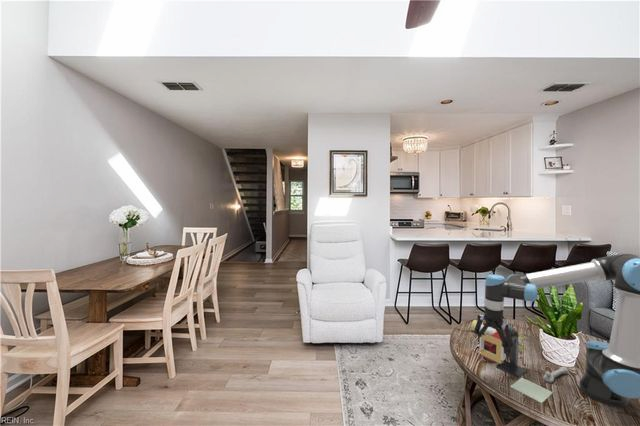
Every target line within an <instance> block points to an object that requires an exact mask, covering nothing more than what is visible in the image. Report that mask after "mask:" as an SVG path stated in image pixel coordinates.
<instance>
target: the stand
mask: <svg viewBox="0 0 640 426" xmlns="http://www.w3.org/2000/svg"><path fill="white" fill-rule="evenodd" d="M518 339H519V338H516V337H514V336H513V337H512V341H513V346H512V347H511V350H510V354H509V361H508V360H506V359H505V360H504V362H503V363H502V364H500V363H498V364H496V365H495V367H496V368H497V369H499V370H501V371H503V372H504V373H506V374H509V375H510V376H513V377H515V378H517V379H520V378H522V376H523V375H525V374H527V372H528V371H527V369H525V368H523V367H521V366H519V365H518V359H519V357H518V355H519V350H518V349H519V348H518V346H519V345H518Z"/></svg>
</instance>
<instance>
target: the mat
mask: <svg viewBox="0 0 640 426" xmlns="http://www.w3.org/2000/svg"><path fill="white" fill-rule="evenodd" d="M509 386H510V388H511V389H512V390H515V391H517V392H519V393H521V394H523V395H524V396H527V397H528V398H531V399H532V400H534V401H536V402H538V403H539V404H543V403H544V402H545V401H546V400H547V399H549V397H550V396H552V395H553V394H554V392H553V391H551V390H549V389H547V388H544V387H542V386H540V385H538V384H536V383H535V382H533V381H530V380H528V379H525V378H524V377H520V378H518V380H517V381H515V382H514V383H512V384H511V385H509Z"/></svg>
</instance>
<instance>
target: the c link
mask: <svg viewBox="0 0 640 426" xmlns="http://www.w3.org/2000/svg"><path fill="white" fill-rule="evenodd" d="M481 339H484V340H486V341H489V342H491V343H493V344H496V354H494V353H491V352H489V351H487V350H485V349H483V350H480V355H481V356H482V357H483V356H485V357H487V358H489V359H491V360H494V361H495V363H498V364H499V363H500V364H502V363H503V362H504V360H503V361H502V360H501V346H503V343H502V341H501V340H500V339H497V338H495V337H492V336H491V335H489V334H486V333H484V334H482V338H481Z"/></svg>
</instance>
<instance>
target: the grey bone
mask: <svg viewBox="0 0 640 426" xmlns="http://www.w3.org/2000/svg"><path fill="white" fill-rule="evenodd" d="M568 373H569V369H568V368H567V367H566V366H560V367H559V368H558V369H556V370H554V371H552V372H550V371H548V370H546V371H545V373H544V374H543V377H542V378H543V380H544V381H545V382H546V383H550V384H551V383H554V382H555V378H557V377H558V376H561V375H566V374H568Z"/></svg>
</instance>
